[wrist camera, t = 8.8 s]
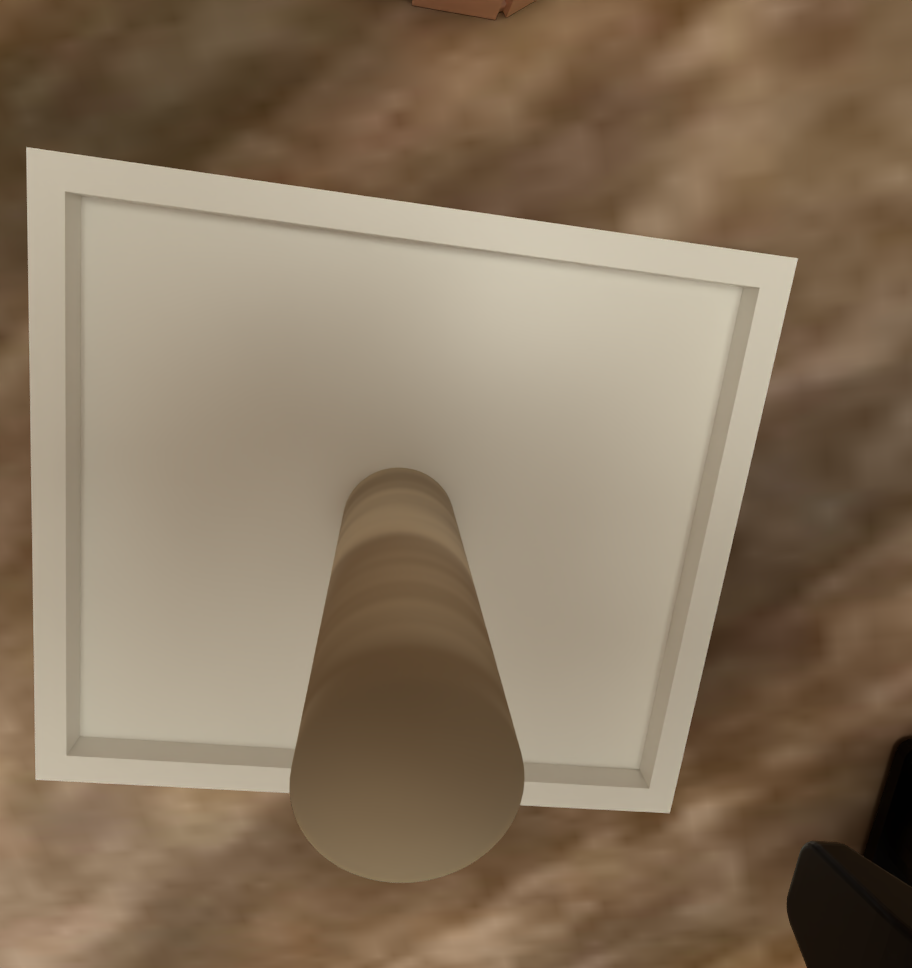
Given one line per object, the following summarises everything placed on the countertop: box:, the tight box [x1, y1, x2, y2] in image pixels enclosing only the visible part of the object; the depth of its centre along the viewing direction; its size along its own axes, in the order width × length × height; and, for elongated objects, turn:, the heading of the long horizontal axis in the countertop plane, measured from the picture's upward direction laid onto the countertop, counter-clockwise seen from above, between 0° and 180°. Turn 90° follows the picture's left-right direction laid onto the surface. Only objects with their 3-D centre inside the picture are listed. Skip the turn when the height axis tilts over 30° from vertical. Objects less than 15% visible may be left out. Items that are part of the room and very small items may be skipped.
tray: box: [26, 147, 798, 813], centre depth 20 cm, size 16×18×2 cm
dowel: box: [289, 468, 525, 883], centre depth 15 cm, size 3×3×11 cm
